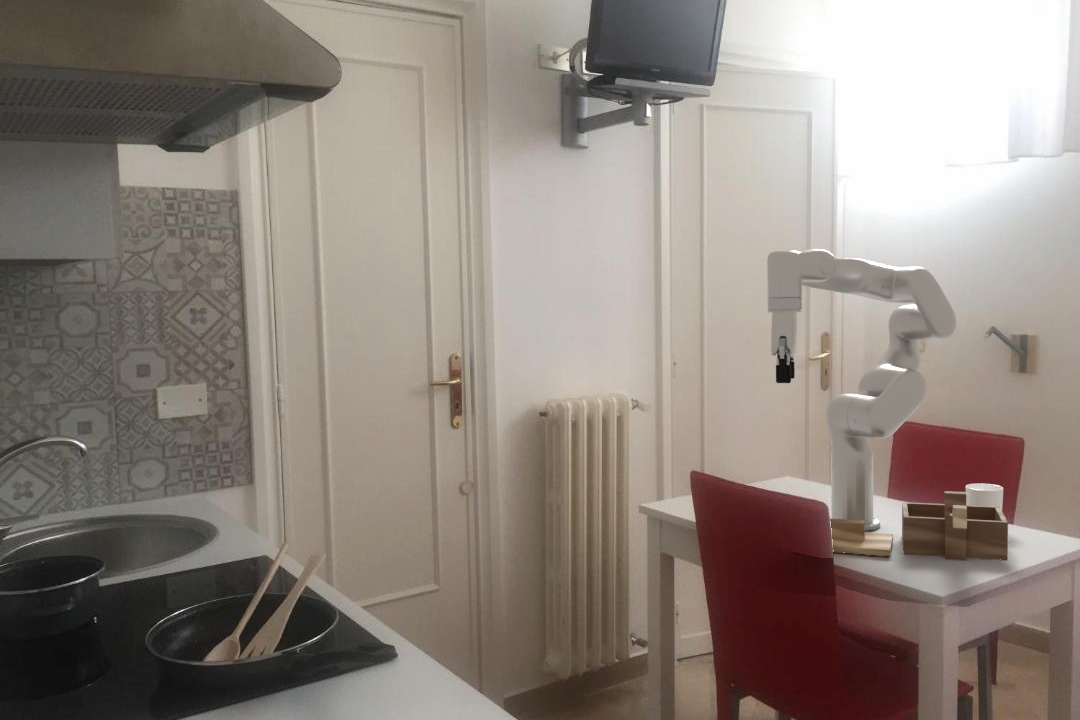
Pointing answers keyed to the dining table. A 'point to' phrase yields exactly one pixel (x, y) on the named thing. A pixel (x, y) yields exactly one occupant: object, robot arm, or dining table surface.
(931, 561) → the dining table surface
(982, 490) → the white cup
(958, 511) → the wooden key
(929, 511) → the toolbox
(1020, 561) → the dining table surface
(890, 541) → the lid
